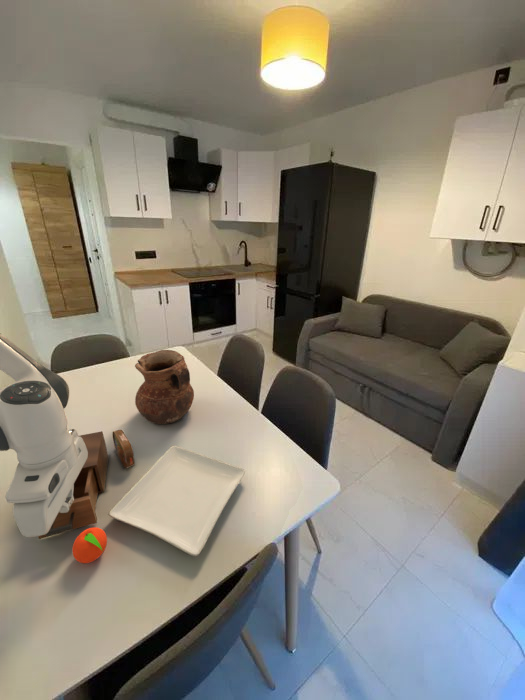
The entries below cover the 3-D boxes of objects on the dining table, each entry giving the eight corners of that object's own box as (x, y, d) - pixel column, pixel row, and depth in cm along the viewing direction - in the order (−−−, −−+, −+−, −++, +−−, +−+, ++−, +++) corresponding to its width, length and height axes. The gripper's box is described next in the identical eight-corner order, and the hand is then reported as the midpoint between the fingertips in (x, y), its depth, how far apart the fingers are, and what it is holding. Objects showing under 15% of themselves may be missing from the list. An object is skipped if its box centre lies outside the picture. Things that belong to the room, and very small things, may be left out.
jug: (129, 430, 108) (118, 371, 97) (148, 398, 127) (140, 346, 117) (189, 431, 109) (184, 372, 98) (199, 399, 128) (195, 347, 118)
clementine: (119, 549, 70) (114, 529, 67) (93, 578, 64) (86, 558, 61) (96, 534, 73) (90, 515, 70) (69, 561, 67) (61, 541, 64)
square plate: (173, 452, 99) (172, 443, 97) (246, 478, 90) (246, 468, 88) (108, 522, 76) (105, 512, 74) (198, 566, 67) (197, 555, 65)
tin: (113, 446, 100) (109, 427, 97) (123, 442, 102) (119, 423, 98) (127, 474, 90) (123, 453, 86) (138, 469, 92) (134, 448, 88)
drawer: (94, 538, 71) (86, 514, 67) (33, 557, 66) (21, 532, 63) (102, 481, 86) (96, 459, 82) (52, 493, 81) (44, 470, 78)
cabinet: (104, 492, 84) (96, 464, 79) (48, 506, 79) (37, 478, 75) (108, 456, 96) (102, 431, 92) (60, 467, 91) (51, 440, 87)
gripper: (58, 425, 66) (72, 470, 72) (-3, 506, 47) (23, 557, 53) (88, 423, 67) (100, 468, 72) (40, 501, 48) (61, 553, 54)
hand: (67, 506), depth 63 cm, fingers closed
